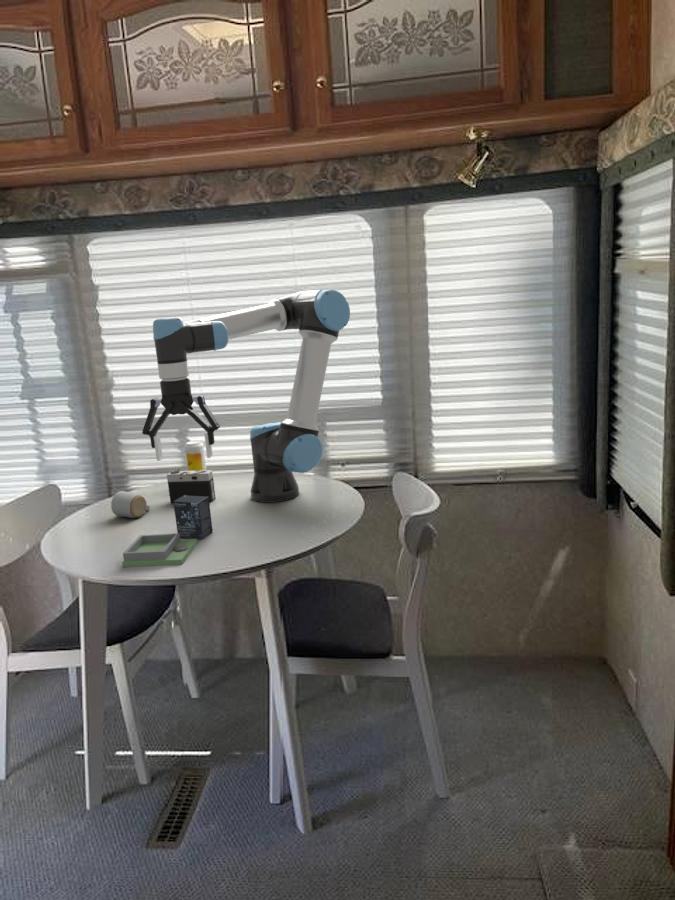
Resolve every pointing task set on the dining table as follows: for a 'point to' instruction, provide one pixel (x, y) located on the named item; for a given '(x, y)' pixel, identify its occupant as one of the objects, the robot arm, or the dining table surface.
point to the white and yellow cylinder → (195, 456)
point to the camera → (191, 484)
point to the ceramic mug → (129, 504)
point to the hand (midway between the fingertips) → (184, 458)
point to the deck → (158, 550)
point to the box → (193, 516)
